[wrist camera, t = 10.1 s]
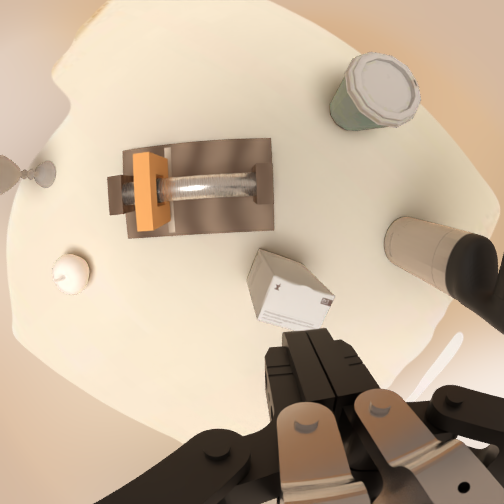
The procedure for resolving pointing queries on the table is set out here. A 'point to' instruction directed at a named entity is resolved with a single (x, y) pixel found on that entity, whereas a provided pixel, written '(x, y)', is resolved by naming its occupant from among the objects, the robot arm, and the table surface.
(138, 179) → the square ring
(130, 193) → the pipe
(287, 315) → the skincare box
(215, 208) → the pipe stand
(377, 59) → the disposable coffee cup
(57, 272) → the plain white apple
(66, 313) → the table surface
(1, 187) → the chalice
